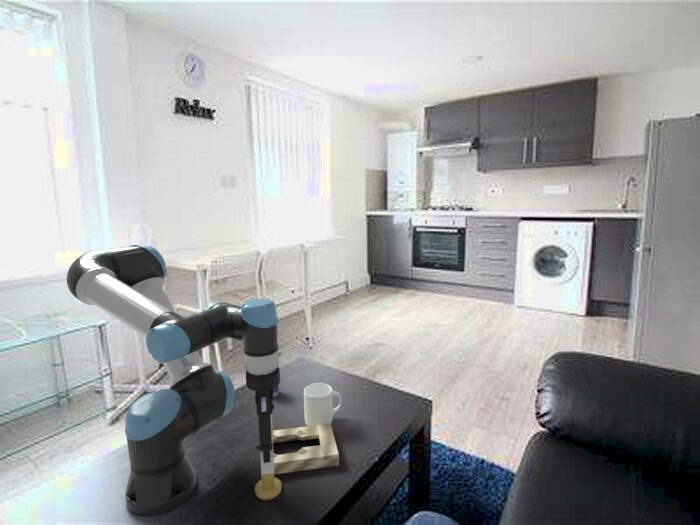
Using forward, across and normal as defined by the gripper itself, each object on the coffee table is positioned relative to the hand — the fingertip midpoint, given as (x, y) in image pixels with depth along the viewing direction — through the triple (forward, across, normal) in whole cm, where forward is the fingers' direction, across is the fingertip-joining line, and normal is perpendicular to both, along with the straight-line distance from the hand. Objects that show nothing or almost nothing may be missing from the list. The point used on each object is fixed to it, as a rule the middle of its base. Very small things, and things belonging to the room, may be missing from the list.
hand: (267, 453), depth 94 cm
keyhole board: (+10, +12, -9) cm, 18 cm away
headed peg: (+10, 0, 0) cm, 10 cm away
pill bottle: (+10, +46, -1) cm, 47 cm away
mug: (+10, +26, -17) cm, 33 cm away
